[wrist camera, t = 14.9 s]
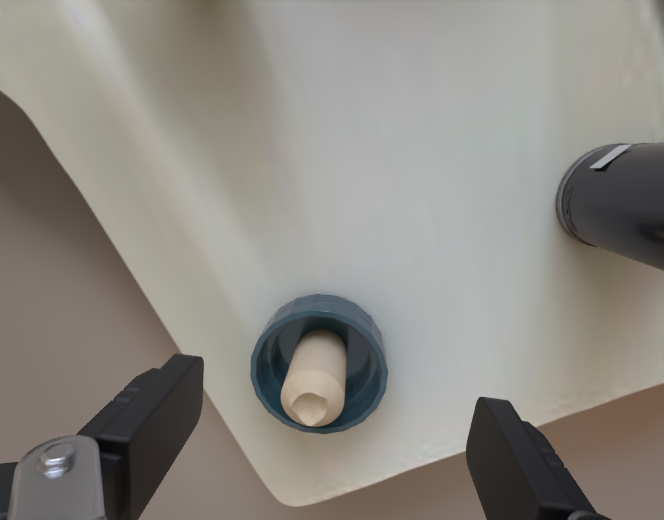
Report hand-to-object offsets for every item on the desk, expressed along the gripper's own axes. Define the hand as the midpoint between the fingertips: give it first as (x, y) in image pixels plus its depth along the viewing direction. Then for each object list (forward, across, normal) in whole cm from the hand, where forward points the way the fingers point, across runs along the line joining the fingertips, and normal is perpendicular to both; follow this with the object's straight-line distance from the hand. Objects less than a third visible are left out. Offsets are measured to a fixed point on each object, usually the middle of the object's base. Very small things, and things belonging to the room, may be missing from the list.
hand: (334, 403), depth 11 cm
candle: (+28, +2, +13) cm, 31 cm away
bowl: (+28, +2, +13) cm, 31 cm away
